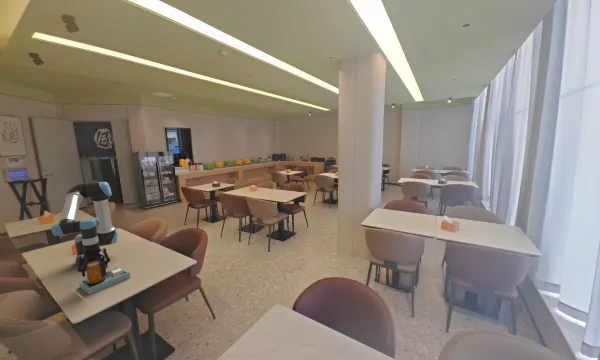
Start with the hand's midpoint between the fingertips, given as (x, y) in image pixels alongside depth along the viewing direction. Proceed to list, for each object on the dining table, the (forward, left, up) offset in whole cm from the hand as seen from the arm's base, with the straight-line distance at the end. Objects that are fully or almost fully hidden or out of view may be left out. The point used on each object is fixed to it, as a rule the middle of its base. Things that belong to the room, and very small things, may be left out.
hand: (96, 276), depth 150 cm
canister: (0, +1, -5) cm, 5 cm away
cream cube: (0, +11, -6) cm, 13 cm away
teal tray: (0, +4, -7) cm, 8 cm away
